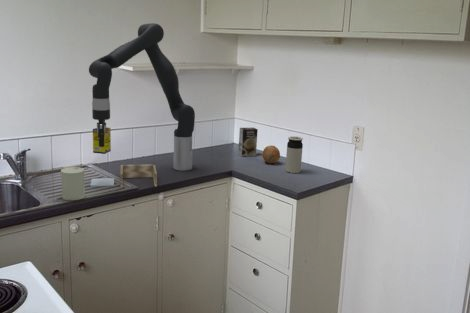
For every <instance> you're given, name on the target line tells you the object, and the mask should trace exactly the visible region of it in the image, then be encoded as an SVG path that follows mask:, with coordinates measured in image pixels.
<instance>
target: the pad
mask: <svg viewBox="0 0 470 313" xmlns="http://www.w3.org/2000/svg"><path fill="white" fill-rule="evenodd" d="M114 186H115V178H113V177H112V178H111V177H110V178H107V177H105V178H91V181H90V188H92V187H93V188H94V187H95V188H96V187H114Z"/></svg>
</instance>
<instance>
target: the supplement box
mask: <svg viewBox="0 0 470 313" xmlns="http://www.w3.org/2000/svg"><path fill="white" fill-rule="evenodd" d="M104 132H105V133H104V137H105V138H104V147H99V138H98V133H97V127H95V128H92V153H93V154H102V155H106V154H107V153H111V151H112V150H111V147H112V146H111V144H112V143H111V142H112V141H111V140H112V138H111V127H107V126H106V128H105V130H104ZM100 135H103V133H102V134H100Z"/></svg>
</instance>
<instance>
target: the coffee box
mask: <svg viewBox="0 0 470 313" xmlns="http://www.w3.org/2000/svg"><path fill="white" fill-rule="evenodd" d="M238 134H239V135H238V136H239V137H238V147H237V148H238V149H237V150H238V151H237V154H238V155H239V156H240V157H241V156H242V157H243V156H248V157H256V156H257V142H258V129H257V128H255V127H239V133H238ZM243 158H244V157H243Z"/></svg>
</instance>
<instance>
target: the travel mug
mask: <svg viewBox="0 0 470 313" xmlns="http://www.w3.org/2000/svg"><path fill="white" fill-rule="evenodd" d="M287 139H288V142H287V146H286V158H285V172H287V173H289V172H290V174H299V173H301V170H302V161H303V160H302V156H303V148H304V146H303V145H304V144H303V140H304V138H303V137H301V136H288V138H287Z"/></svg>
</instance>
